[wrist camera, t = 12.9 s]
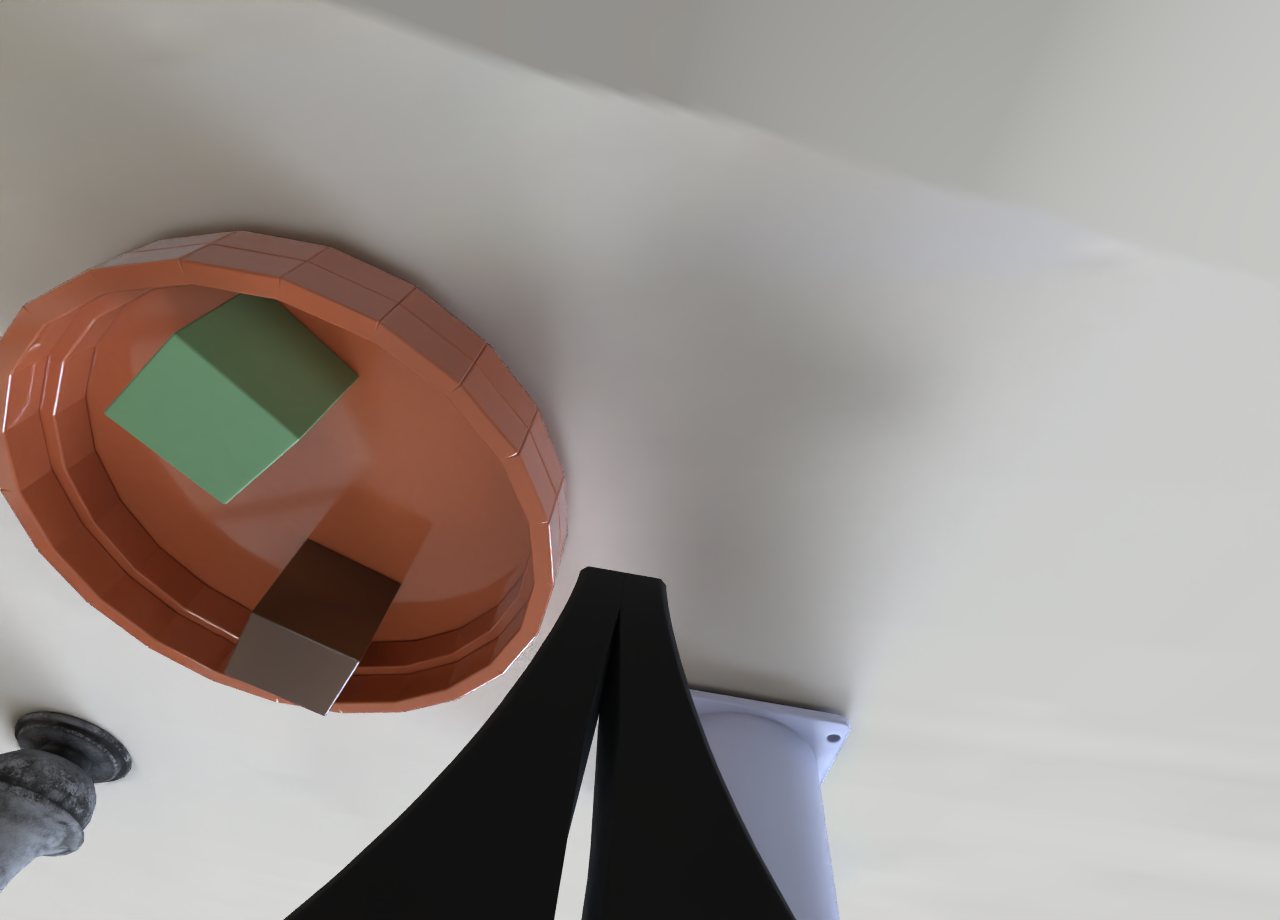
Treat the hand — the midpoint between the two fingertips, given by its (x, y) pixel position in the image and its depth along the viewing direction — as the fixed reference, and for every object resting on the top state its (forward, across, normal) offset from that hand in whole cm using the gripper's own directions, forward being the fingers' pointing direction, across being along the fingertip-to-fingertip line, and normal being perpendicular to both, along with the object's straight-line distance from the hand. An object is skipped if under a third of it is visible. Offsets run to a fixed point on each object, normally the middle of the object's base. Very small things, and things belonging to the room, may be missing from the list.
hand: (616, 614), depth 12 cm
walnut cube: (+9, +10, +10) cm, 17 cm away
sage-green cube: (+9, +11, +2) cm, 14 cm away
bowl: (+9, +10, +6) cm, 15 cm away
